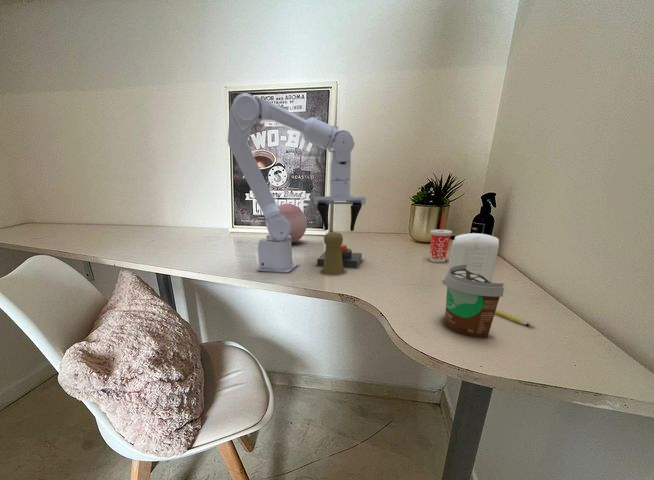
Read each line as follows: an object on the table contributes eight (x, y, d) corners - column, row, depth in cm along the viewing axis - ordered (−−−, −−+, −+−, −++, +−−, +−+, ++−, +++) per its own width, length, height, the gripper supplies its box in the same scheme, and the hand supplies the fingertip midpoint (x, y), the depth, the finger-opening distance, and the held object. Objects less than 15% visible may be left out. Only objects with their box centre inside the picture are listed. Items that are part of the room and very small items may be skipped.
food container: (427, 313, 67) (433, 265, 63) (456, 312, 67) (465, 263, 63) (457, 342, 56) (467, 286, 52) (492, 340, 56) (505, 284, 52)
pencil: (528, 328, 60) (529, 323, 60) (465, 303, 72) (466, 298, 72) (531, 327, 61) (533, 322, 60) (469, 302, 72) (470, 298, 72)
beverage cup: (426, 262, 102) (432, 214, 97) (427, 257, 107) (433, 212, 102) (447, 263, 100) (454, 215, 94) (448, 258, 105) (455, 212, 100)
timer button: (332, 252, 101) (332, 246, 100) (335, 249, 104) (335, 244, 104) (345, 253, 100) (345, 247, 99) (347, 250, 103) (347, 244, 103)
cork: (342, 275, 92) (343, 235, 87) (320, 274, 93) (320, 234, 88) (344, 269, 97) (345, 231, 93) (324, 268, 98) (324, 230, 94)
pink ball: (314, 243, 131) (314, 203, 125) (281, 249, 123) (279, 206, 117) (294, 238, 142) (292, 201, 136) (262, 242, 134) (259, 203, 128)
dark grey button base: (317, 266, 101) (317, 253, 99) (325, 258, 110) (325, 245, 108) (356, 268, 98) (357, 254, 96) (361, 259, 106) (362, 247, 105)
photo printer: (489, 282, 83) (499, 232, 78) (492, 288, 80) (503, 236, 75) (445, 279, 86) (452, 231, 81) (446, 285, 82) (453, 234, 77)
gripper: (310, 181, 91) (311, 231, 96) (364, 180, 87) (362, 233, 92) (317, 180, 97) (318, 227, 102) (367, 179, 93) (365, 228, 98)
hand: (339, 230), depth 98 cm, fingers open, 7 cm apart
